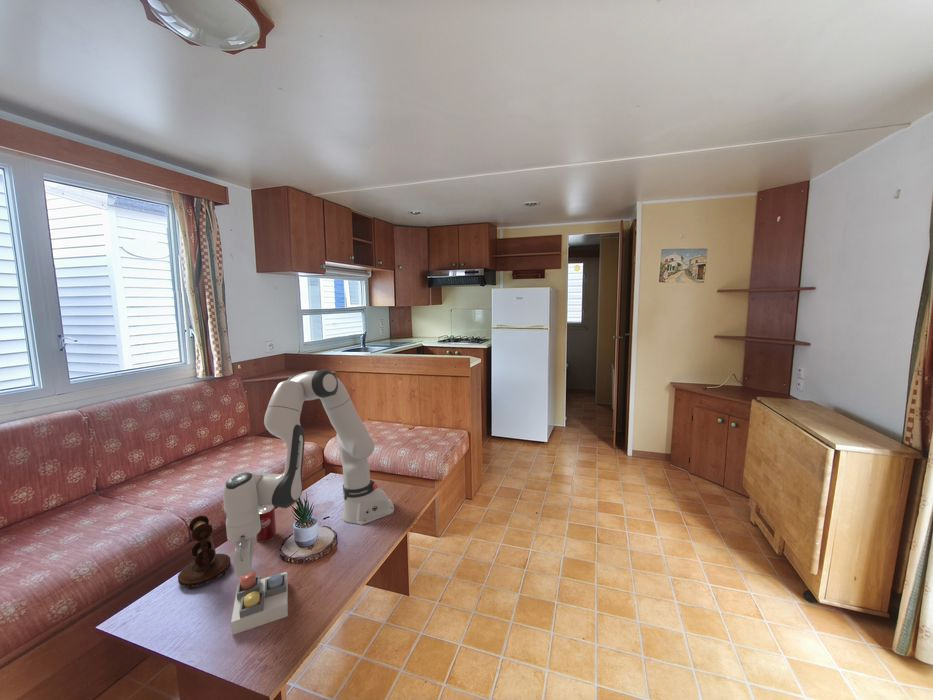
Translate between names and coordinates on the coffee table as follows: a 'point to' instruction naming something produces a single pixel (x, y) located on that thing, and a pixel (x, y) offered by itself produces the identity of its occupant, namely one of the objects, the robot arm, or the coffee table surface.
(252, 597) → the ochre button
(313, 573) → the coffee table surface
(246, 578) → the brick button
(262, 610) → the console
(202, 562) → the brown spool stand
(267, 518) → the soda can
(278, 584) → the slate button
